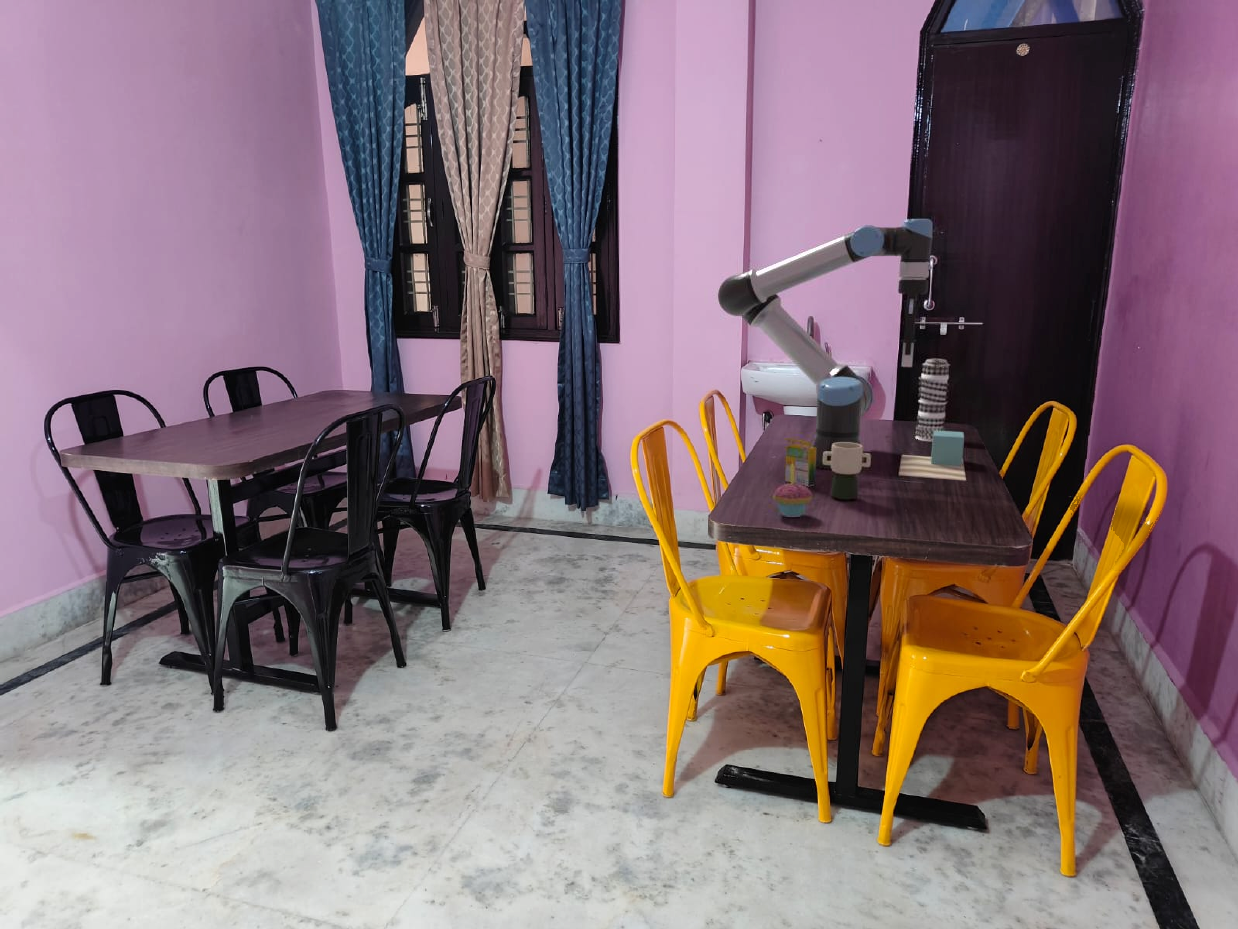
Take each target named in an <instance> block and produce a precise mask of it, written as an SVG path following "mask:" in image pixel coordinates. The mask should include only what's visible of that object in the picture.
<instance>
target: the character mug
mask: <svg viewBox="0 0 1238 929" xmlns="http://www.w3.org/2000/svg"><path fill="white" fill-rule="evenodd" d="M828 455H829V456H831V461H827V456H828ZM862 457H864V458H865V459H866V462H863V463H862ZM871 459H872V455H871V454H870V453H867V452H864V445H863V444H862V443H861V444H857V443H851V442H838V443H833V444H832V451H831V452H828V451H825V452H824V453H823V464H824V465H831V469H832V470H831V471H832V472H833V473H835V474H834V476H833V479H832V484H831V489H830V495H831V497H834V498H836V499H840V500H854V499H857V498H858V496H859V487H858V486H859V485H858V477H857V475H856V474H859V473H860V472H861V470H862V468H870V466H871Z"/></svg>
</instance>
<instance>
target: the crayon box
mask: <svg viewBox="0 0 1238 929" xmlns="http://www.w3.org/2000/svg"><path fill="white" fill-rule="evenodd" d="M794 442H795V443H794ZM798 442H799V443H800V444H798ZM816 449H817V448H815V447H811V441H806V440H801V439H797V438H792V437H791V438H790V437H787V438H786V454H785V455H786V456H785V471H784V472H785V473H784V481H785V480H786V481H789V482H791V465H792V461H793V465H794V483H798V484H802V485H805V486H804V487H806V486H810V485H813V484H815V482H816V468H817V467H816ZM789 482H788V483H789ZM810 487H811V486H810Z"/></svg>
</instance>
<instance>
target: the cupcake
mask: <svg viewBox="0 0 1238 929" xmlns="http://www.w3.org/2000/svg"><path fill="white" fill-rule="evenodd" d="M772 499H773V500H774V501H775V502H776V504H777V507H778V509H779V514H780V513H782V514H784V515H787V516H799V515H802V514H803V515H804V512H805V510H806V507H807V506H808V504H810V503H811V502H812V501H813V492H812V491H811V490H810V489H809V487H806V486H802V485H798V484H794V465H793V461H792V465H791V483H784V484H781V485H780V486H778V487H777V488H775V490H774V493H773V496H772ZM803 515H802V516H803Z"/></svg>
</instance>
